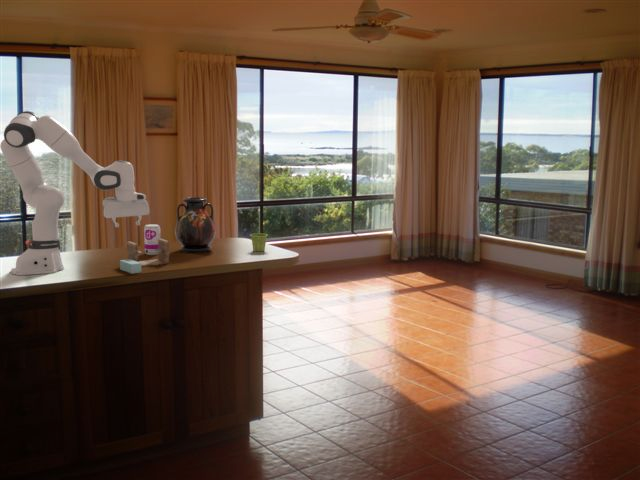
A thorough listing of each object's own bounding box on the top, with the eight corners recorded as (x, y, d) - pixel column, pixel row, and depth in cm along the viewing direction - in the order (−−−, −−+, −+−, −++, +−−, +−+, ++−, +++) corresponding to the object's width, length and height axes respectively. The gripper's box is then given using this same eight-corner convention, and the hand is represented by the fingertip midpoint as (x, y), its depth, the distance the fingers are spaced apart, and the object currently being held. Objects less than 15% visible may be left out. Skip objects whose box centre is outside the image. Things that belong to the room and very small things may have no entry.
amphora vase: (176, 254, 358) (174, 200, 354) (174, 247, 379) (173, 196, 374) (217, 253, 363) (217, 200, 359) (214, 246, 384) (213, 196, 379)
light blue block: (131, 274, 312) (131, 264, 311) (120, 269, 321) (119, 260, 320) (141, 272, 315) (141, 263, 314) (129, 268, 324) (129, 259, 323)
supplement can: (157, 255, 355) (156, 226, 353) (142, 254, 357) (141, 226, 355) (163, 252, 363) (162, 224, 361) (149, 252, 365) (148, 223, 363)
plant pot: (271, 250, 373) (271, 234, 372) (260, 252, 366) (260, 236, 364) (257, 248, 378) (257, 232, 377) (246, 251, 371) (246, 235, 369)
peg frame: (134, 267, 326) (134, 244, 324) (128, 264, 333) (127, 241, 331) (169, 263, 335) (168, 241, 334) (161, 260, 343) (161, 238, 341)
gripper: (103, 198, 307) (105, 229, 310) (149, 195, 316) (151, 225, 319) (100, 197, 313) (103, 227, 315) (146, 194, 322) (147, 223, 324)
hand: (127, 226), depth 317 cm, fingers open, 8 cm apart
